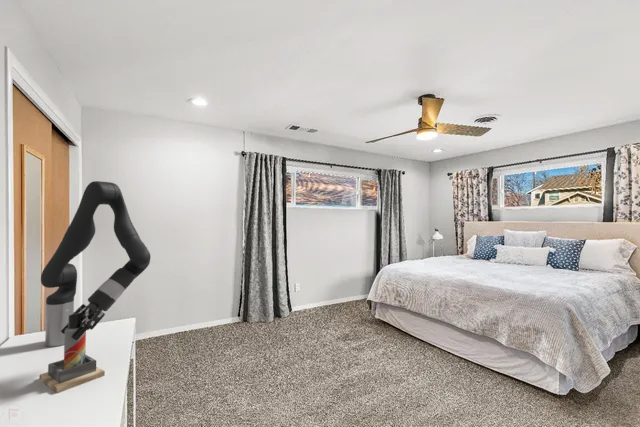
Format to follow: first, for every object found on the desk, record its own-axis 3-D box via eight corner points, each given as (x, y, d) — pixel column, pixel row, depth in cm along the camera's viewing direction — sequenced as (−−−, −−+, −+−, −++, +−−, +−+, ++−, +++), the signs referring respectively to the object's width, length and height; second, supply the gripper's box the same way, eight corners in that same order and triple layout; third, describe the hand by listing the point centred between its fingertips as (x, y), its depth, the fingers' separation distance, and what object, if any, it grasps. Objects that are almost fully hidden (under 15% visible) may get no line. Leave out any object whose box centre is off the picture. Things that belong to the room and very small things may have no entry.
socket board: (39, 379, 105) (39, 363, 105) (85, 364, 116) (85, 350, 116) (57, 393, 97) (57, 376, 97) (104, 375, 108) (104, 360, 108)
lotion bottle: (72, 378, 103) (73, 316, 103) (59, 375, 105) (60, 314, 105) (89, 370, 109) (90, 311, 109) (76, 368, 110) (77, 310, 110)
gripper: (90, 286, 117) (50, 326, 107) (108, 291, 109) (67, 335, 100) (105, 297, 122) (68, 337, 112) (124, 303, 114) (86, 346, 104)
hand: (68, 336), depth 106 cm, fingers open, 8 cm apart
